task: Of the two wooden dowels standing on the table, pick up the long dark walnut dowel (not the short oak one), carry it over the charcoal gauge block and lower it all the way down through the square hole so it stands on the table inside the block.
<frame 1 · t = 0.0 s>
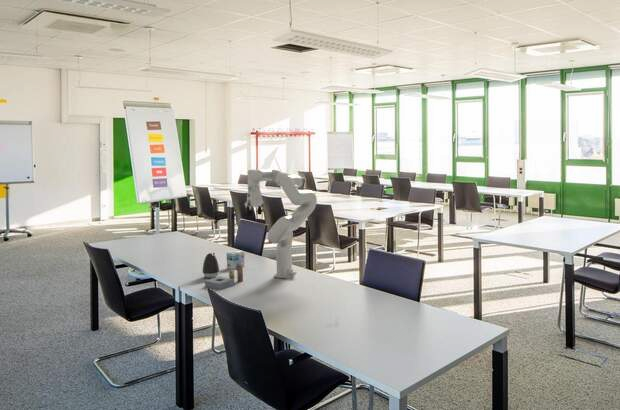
hand: (254, 215, 317), 37 cm above the table, tool pointing down, fingers open, 9 cm apart
short pin: (231, 278, 304), on the table
light bulb box: (235, 267, 332), on the table
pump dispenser: (211, 277, 307), on the table
long pin: (240, 281, 297), on the table
gauge block: (219, 285, 287), on the table
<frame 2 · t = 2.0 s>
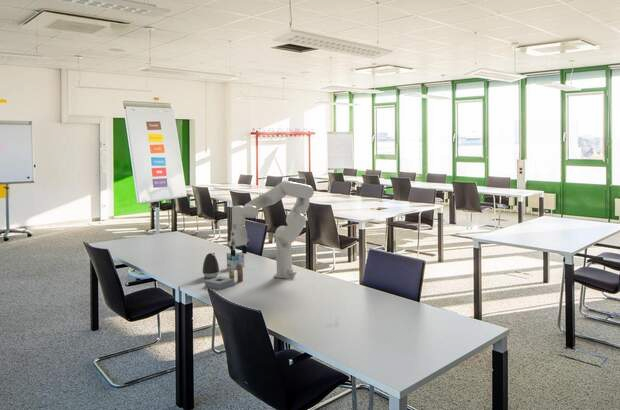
hand: (238, 254, 295), 16 cm above the table, tool pointing down, fingers open, 9 cm apart
nothing on the table moved.
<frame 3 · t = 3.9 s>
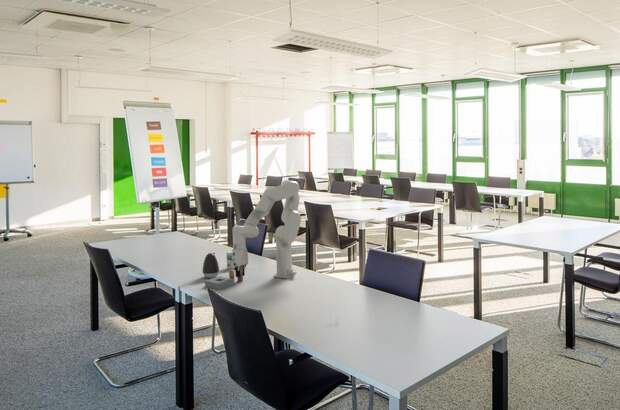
hand: (240, 275, 296), 3 cm above the table, tool pointing down, fingers closed on long pin, 3 cm apart
long pin: (240, 281, 297), on the table, touching gripper
everything else where it was.
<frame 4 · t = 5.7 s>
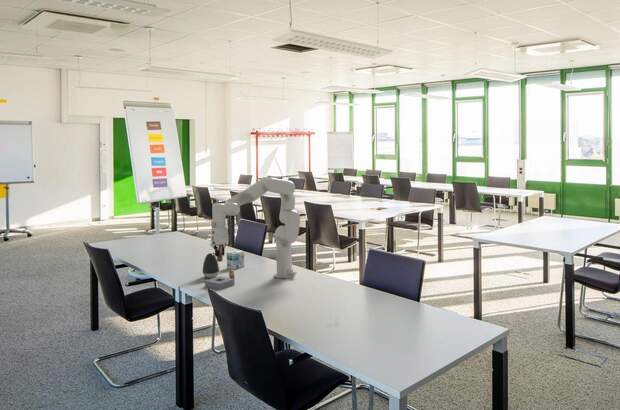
hand: (219, 255, 286), 18 cm above the table, tool pointing down, fingers closed on long pin, 3 cm apart
long pin: (219, 260, 286), point 15 cm above the table, touching gripper
everything else where it was.
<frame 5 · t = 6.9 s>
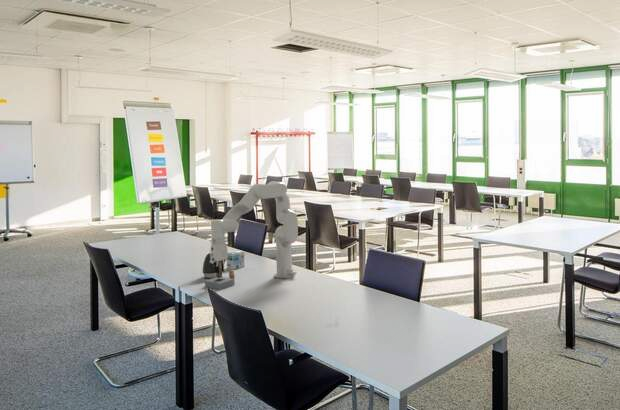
hand: (219, 271, 286), 8 cm above the table, tool pointing down, fingers closed on long pin, 3 cm apart
long pin: (219, 277, 287), point 5 cm above the table, touching gripper
everything else where it was.
when the fingers open (5 cm above the table, at t = 7.8 s): long pin drops 1 cm, resting in gauge block.
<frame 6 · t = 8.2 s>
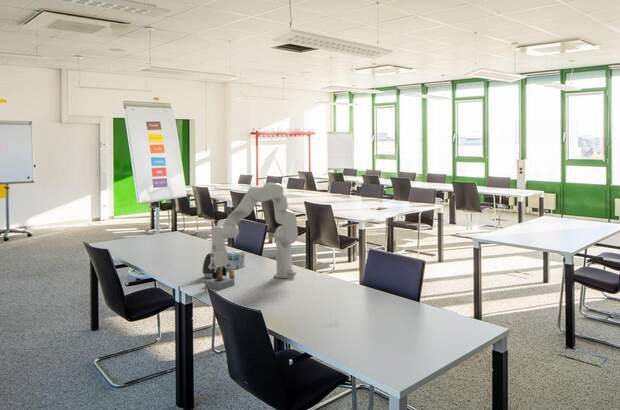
hand: (219, 277, 287), 5 cm above the table, tool pointing down, fingers open, 7 cm apart
long pin: (219, 285, 287), resting in gauge block
everything else where it was.
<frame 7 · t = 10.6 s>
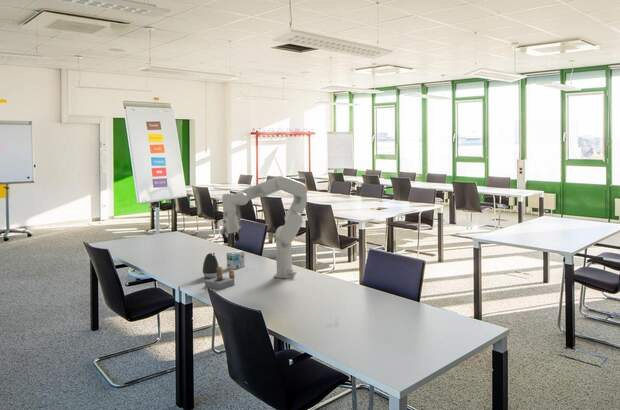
hand: (231, 242, 297), 23 cm above the table, tool pointing down, fingers open, 9 cm apart
nothing on the table moved.
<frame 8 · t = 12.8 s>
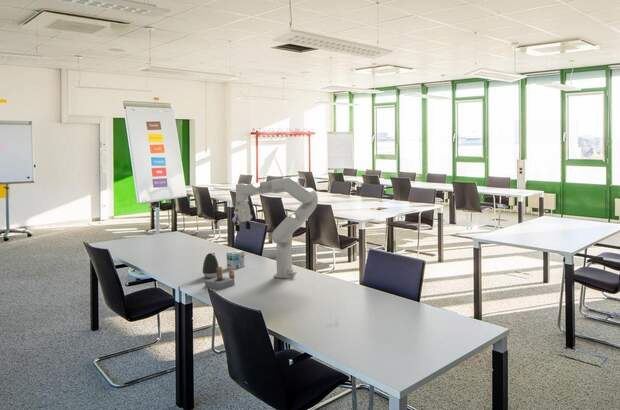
hand: (242, 230, 311), 28 cm above the table, tool pointing down, fingers open, 9 cm apart
nothing on the table moved.
at the end: long pin 0.1 cm off-centre on the gauge block, point 0.0 cm above the gauge block's base; long pin tilted 0°; short pin moved 0.0 cm from its start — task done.
